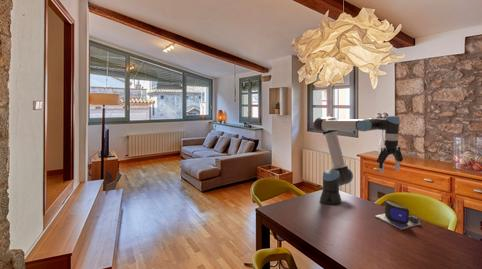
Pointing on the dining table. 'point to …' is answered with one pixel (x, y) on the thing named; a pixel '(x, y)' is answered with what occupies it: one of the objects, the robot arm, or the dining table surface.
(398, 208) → the small display screen
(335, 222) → the dining table surface
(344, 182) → the robot arm
